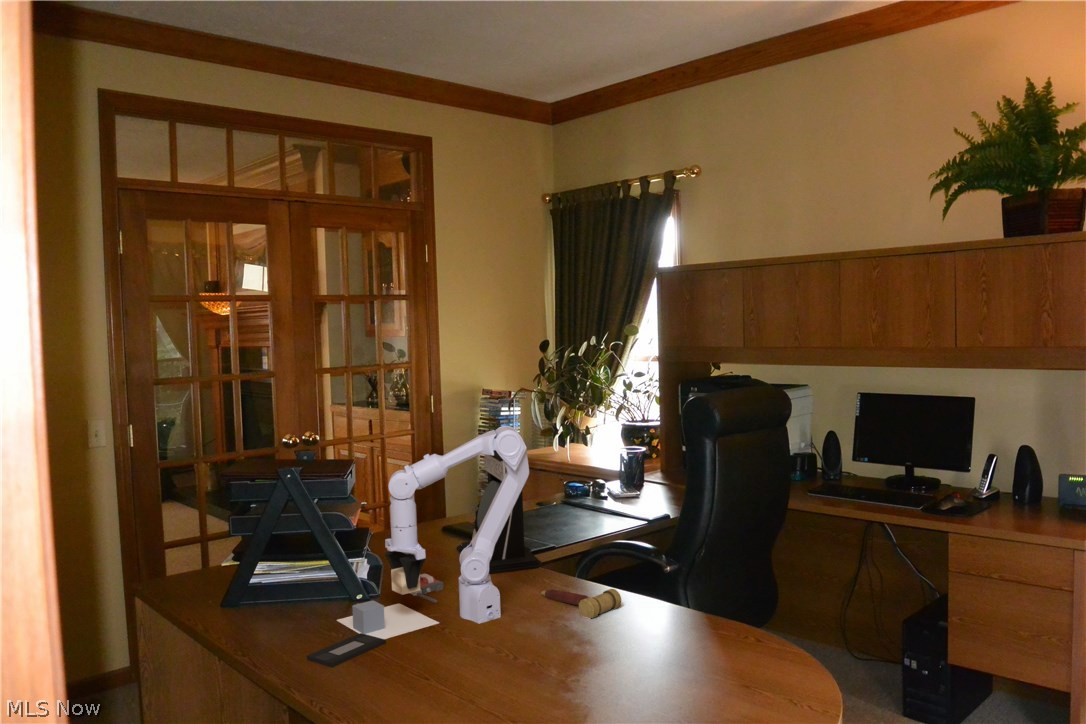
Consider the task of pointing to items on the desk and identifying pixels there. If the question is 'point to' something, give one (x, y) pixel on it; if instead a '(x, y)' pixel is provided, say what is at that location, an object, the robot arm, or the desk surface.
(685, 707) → the desk surface
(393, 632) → the blank cream board
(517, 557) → the award
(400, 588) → the maple cube
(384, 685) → the desk surface
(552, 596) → the gavel
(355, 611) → the slate block
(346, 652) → the vhs tape
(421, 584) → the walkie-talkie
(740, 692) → the desk surface
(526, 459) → the robot arm
